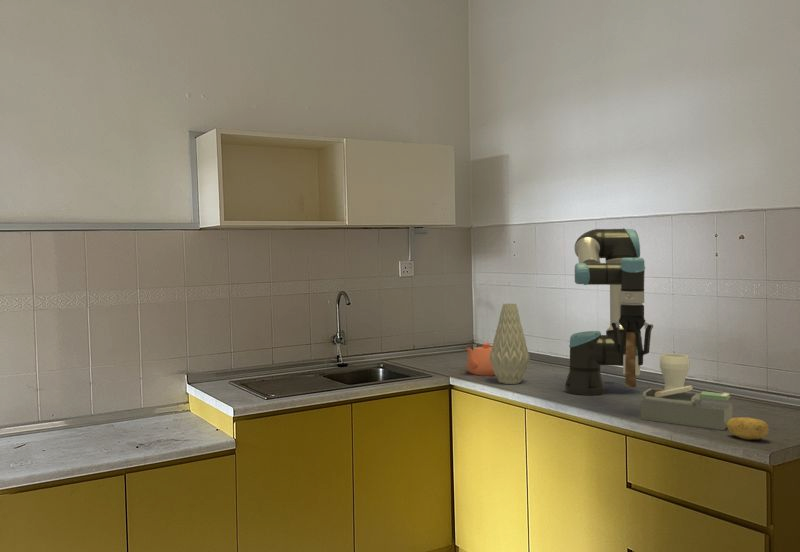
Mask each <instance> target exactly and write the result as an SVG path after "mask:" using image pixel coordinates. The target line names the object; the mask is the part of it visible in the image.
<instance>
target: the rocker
mask: <svg viewBox="0 0 800 552" xmlns="http://www.w3.org/2000/svg"><path fill="white" fill-rule="evenodd" d="M693 389H694V388H693V385H692V384H691V385H686V386H685V385H684V387H680V388H675V389H670V390H665V391H664V390H662V391H658V392H656V393H654V394H655V397H662V396H667V395H672V394H677V393H682V392H691V391H692V390H693Z"/></svg>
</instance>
